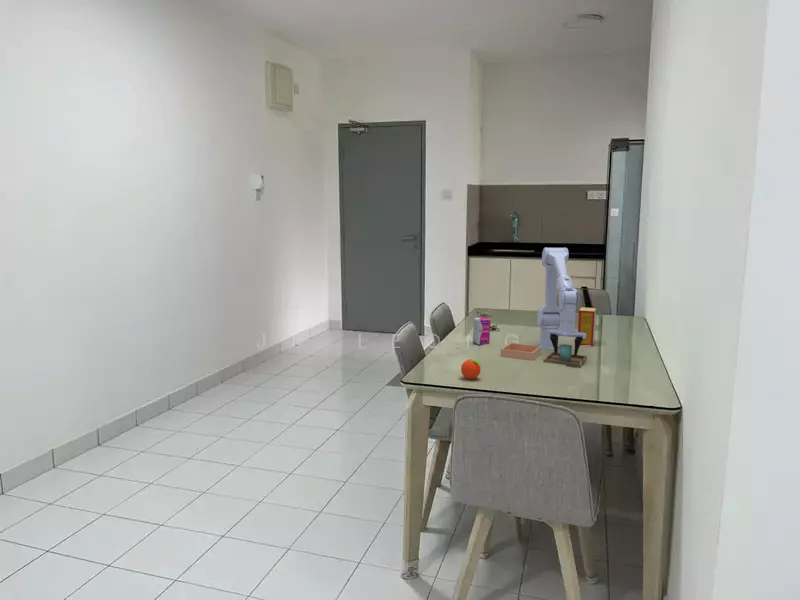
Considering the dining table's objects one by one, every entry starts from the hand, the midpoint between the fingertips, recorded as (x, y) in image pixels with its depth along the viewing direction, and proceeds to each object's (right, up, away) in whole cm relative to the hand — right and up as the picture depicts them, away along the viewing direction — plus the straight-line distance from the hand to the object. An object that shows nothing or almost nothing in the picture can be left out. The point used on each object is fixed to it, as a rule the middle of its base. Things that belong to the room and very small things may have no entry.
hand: (565, 354), depth 241 cm
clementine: (-40, -7, -25) cm, 48 cm away
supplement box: (-30, +2, +30) cm, 42 cm away
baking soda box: (+18, +2, +32) cm, 37 cm away
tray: (0, -3, 0) cm, 3 cm away
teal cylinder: (0, -2, 0) cm, 2 cm away
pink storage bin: (-16, -1, +9) cm, 18 cm away
